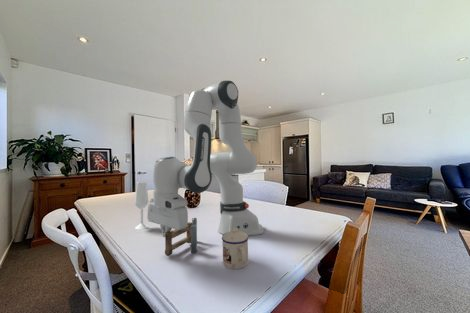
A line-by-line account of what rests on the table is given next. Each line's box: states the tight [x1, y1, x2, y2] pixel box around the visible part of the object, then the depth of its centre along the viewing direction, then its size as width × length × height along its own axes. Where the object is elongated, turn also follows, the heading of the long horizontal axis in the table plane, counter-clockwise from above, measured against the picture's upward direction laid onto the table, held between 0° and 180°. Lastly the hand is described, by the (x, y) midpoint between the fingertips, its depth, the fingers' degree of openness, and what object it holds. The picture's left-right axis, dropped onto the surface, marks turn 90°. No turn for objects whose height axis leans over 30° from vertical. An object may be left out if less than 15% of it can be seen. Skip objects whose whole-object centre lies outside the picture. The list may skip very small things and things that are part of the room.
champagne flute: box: [134, 181, 150, 230], centre depth 105 cm, size 7×7×24 cm
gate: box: [164, 221, 192, 257], centre depth 77 cm, size 13×3×8 cm, turn 153°
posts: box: [190, 217, 198, 254], centre depth 80 cm, size 3×11×10 cm, turn 4°
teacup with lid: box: [221, 228, 249, 270], centre depth 66 cm, size 12×9×12 cm
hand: (166, 236), depth 74 cm, fingers closed
